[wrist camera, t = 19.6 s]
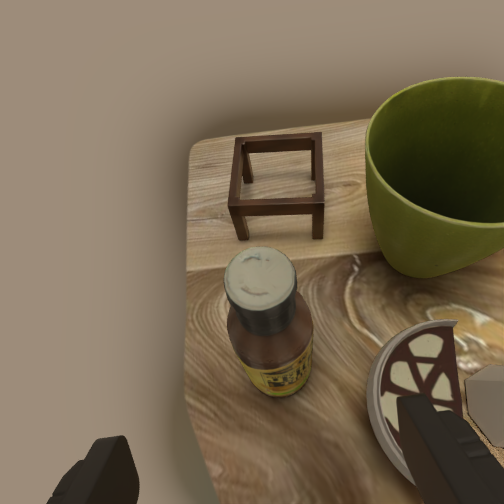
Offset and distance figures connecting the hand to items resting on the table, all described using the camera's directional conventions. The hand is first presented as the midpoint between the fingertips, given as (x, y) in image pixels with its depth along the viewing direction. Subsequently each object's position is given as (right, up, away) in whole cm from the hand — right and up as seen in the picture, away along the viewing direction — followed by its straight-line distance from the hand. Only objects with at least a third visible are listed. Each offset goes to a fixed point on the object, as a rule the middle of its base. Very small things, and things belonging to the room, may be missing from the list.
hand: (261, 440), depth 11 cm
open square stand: (+3, +11, +36) cm, 38 cm away
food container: (+12, -9, +23) cm, 28 cm away
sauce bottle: (+3, -6, +26) cm, 27 cm away
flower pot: (+18, +6, +31) cm, 36 cm away
